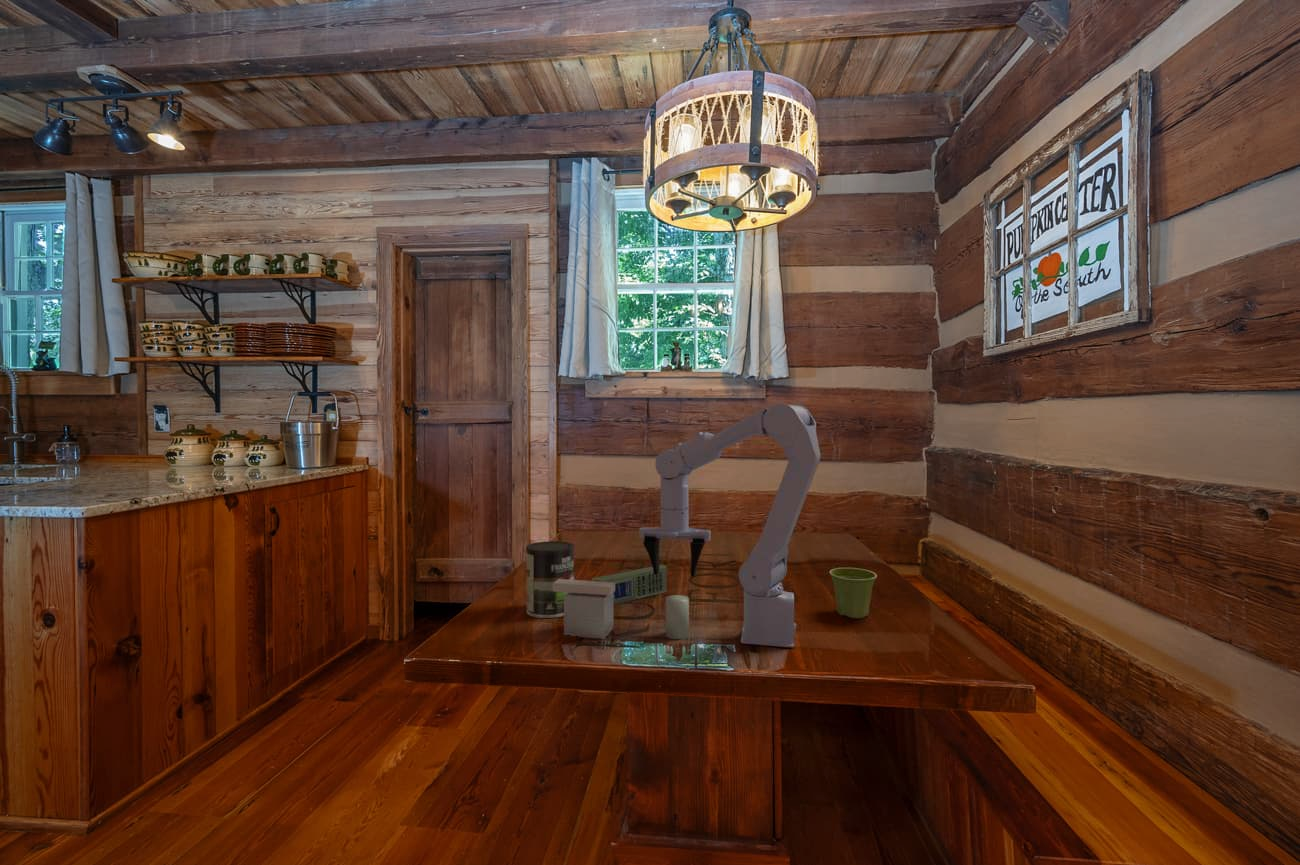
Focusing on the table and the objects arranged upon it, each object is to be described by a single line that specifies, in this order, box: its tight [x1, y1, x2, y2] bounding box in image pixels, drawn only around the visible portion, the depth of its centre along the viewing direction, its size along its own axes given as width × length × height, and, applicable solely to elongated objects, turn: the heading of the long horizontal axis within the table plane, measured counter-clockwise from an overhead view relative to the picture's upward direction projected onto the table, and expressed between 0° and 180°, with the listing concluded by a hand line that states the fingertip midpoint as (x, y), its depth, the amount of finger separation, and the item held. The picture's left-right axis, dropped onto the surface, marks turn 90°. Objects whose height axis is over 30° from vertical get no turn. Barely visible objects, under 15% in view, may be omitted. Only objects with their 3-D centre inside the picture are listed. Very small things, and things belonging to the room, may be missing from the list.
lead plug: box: [665, 594, 690, 640], centre depth 107 cm, size 4×4×7 cm
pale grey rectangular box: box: [553, 579, 615, 595], centre depth 109 cm, size 12×3×2 cm, turn 77°
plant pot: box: [829, 567, 878, 619], centre depth 119 cm, size 9×9×9 cm
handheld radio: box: [590, 564, 667, 606], centre depth 128 cm, size 7×3×25 cm
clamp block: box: [563, 593, 615, 640], centre depth 109 cm, size 8×6×8 cm
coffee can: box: [525, 540, 575, 619], centre depth 121 cm, size 10×10×14 cm
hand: (674, 574), depth 115 cm, fingers open, 7 cm apart
